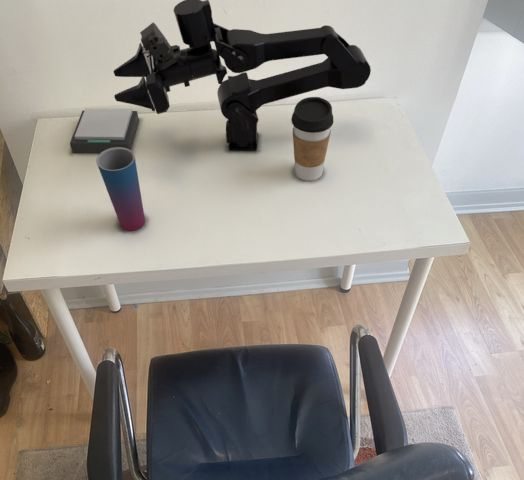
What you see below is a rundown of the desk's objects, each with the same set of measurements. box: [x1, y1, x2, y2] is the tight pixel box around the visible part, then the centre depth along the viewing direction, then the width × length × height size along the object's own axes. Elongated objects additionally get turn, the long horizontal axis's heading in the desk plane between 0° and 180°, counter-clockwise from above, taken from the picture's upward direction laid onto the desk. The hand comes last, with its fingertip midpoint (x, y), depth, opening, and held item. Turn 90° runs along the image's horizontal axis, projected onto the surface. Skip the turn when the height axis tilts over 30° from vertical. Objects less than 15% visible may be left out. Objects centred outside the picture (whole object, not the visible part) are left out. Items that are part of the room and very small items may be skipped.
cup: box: [95, 147, 146, 232], centre depth 103 cm, size 7×7×15 cm
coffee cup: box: [290, 96, 335, 182], centre depth 111 cm, size 8×8×15 cm
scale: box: [69, 107, 140, 154], centre depth 124 cm, size 13×13×3 cm
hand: (114, 85), depth 108 cm, fingers open, 9 cm apart
